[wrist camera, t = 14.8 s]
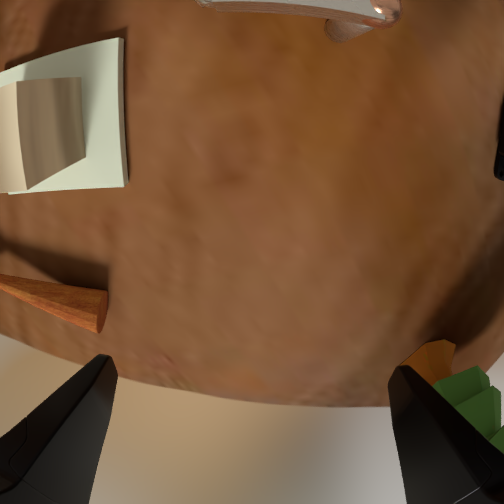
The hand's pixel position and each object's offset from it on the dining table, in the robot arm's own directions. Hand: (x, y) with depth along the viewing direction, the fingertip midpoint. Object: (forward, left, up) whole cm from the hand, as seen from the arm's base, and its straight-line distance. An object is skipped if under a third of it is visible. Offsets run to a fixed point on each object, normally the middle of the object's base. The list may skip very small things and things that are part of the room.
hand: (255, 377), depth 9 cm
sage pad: (+13, -7, -12) cm, 19 cm away
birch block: (+13, -7, -11) cm, 18 cm away
